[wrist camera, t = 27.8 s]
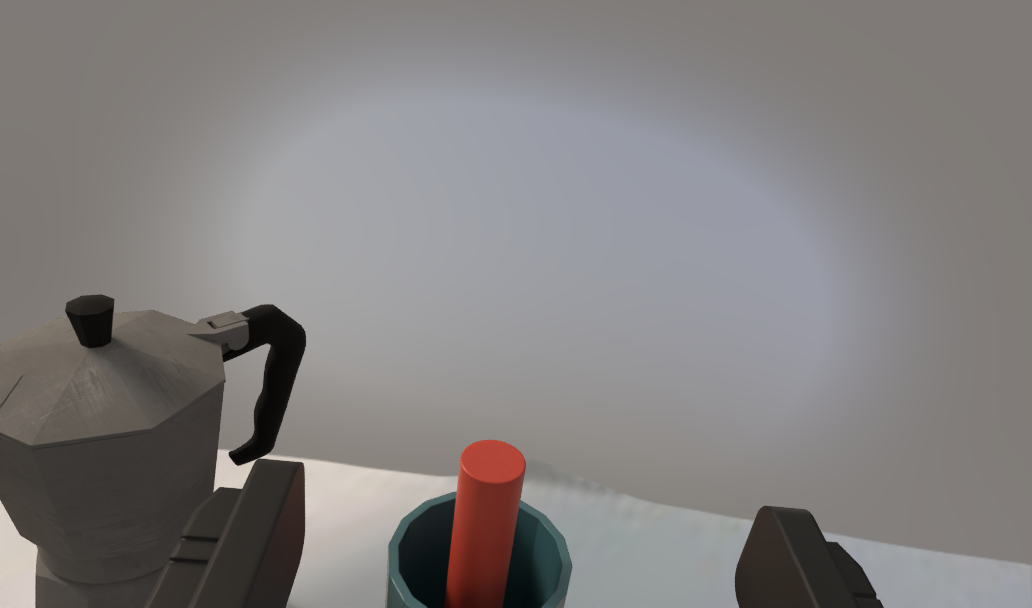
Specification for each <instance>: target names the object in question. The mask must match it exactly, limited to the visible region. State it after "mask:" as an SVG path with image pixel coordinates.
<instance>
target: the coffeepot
mask: <svg viewBox="0 0 1032 608" xmlns="http://www.w3.org/2000/svg"><path fill="white" fill-rule="evenodd" d="M113 309H114V299H113V298H110V297H107V296H104V295H87V296H80V297H79V298H76V299H74V300H71V301H69V302H67V304H66V309H65V311H66V314H67V316H68V317H62V318H57V319H55V320H53V321H51V322H48V323H46V324H44V325H42V326H39V327H37V328H35V329H33V330H31V331H29V332H26V333H24V334H22V335H20V336H18V337H16V338H13V339H11V340H9V341H6V342H4V343H2V344H0V500H1V502H2V504H3V505H4V507H5V509H6V511H7V513H8V514H9V516H10V518H11V520H12V522H13V523H14V525H15V527H16V529H17V530H18V532H19V534H20V535H21V536H22V537H24V538H26V539H27V540H29V541H31V542H32V543H34V544H36V545H37V548H38V554H37V563H36V608H143V606H144V604H145V602H146V601H147V599H148V597H149V595H150V593H151V591H152V589H153V587H154V585H155V583H156V582H157V580H158V578H159V576H160V574H161V572H162V570H163V568H164V566H165V565H166V563H168V562H169V557H170V555H171V553H172V551H173V549H174V547H175V546H176V544H177V542H178V541H180V539H181V534H182V532H183V530H184V528H185V527H186V525H187V523H188V521H189V519H190V517H191V515H192V513H193V511H194V510H195V508H196V507H198V506H199V505H200V504H201V503H202V502H203V501H204V500H206V499H207V498H208V497H209V496H210V495H211V494H212V493H213V490H214V480H215V470H216V460H217V450H218V440H219V431H220V420H221V410H222V401H223V391H224V383H225V381H226V380H225V373H224V365H223V362H226V361H228V360H230V359H233V358H235V357H237V356H240V355H242V354H244V353H246V352H248V351H251V350H253V349H254V348H257V347H259V346H261V345H264V344H266V343H268V344H270V345H271V347H270V350H269V353H268V356H267V360H266V364H265V371H264V380H263V381H264V382H263V389H262V392H261V394H260V396H259V398H258V400H257V402H256V406H255V409H254V425H255V426H254V428H255V430H254V434H253V436H252V438H251V439H250V440H249V441H248V442H247V443H245V444H244V445H242V446H241V447H239V448H237V449H236V450H234V451H230V452H229V457H230V458H231V459H232V461H233V462H234V463H235V464H236V465H237V466H239V465H242V464H245V463H248V462H251V461H253V460H256V459H258V458H260V457H263V456H265V455H266V454H268V453H270V452H271V450H272V449H273V447H274V445H275V441H276V438H277V434H278V432H279V428H280V426H281V423H282V420H283V416H284V413H285V410H286V408H287V404H288V400H289V397H290V394H291V390H292V387H293V384H294V380H295V377H296V374H297V371H298V368H299V365H300V363H301V359H302V357H303V354H304V351H305V346H306V334H305V331H304V329H303V328H302V326H301V325H300V324H298V323H297V322H296V321H294V320H293V319H292V318H290V317H289V316H288V315H286V314H285V313H284V312H282V311H281V310H280V309H278V308H277V307H276V306H274V305H269V304H268V305H260V306H257V307H254V308H251V309H249V310H246V311H244V312H240V313H235V312H233V311H229V312H226V313H222V314H219V315H215V316H212V317H208V318H204V319H201V320H199V321H198V322H197V323H196V324H192V323H190V322H187V321H184V320H181V319H178V318H175V317H172V316H169V315H166V314H163V313H160V312H157V311H155V310H147V311H135V312H123V313H113V311H114V310H113Z"/></svg>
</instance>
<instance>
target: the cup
mask: <svg viewBox="0 0 1032 608" xmlns="http://www.w3.org/2000/svg"><path fill="white" fill-rule="evenodd" d="M456 494H457V492H452V493H449V494H446V495H443V496H440V497H437V498H434V499H431V500H427V501H426V502H424V503H422V504H421V505H420V506H419V507H417V508H416V509H415V510H413V511H412V512H411V513H409V514H408V515H407V516H406V517H404V518H403V519H402V520H401V522H400V524H399V526H398V528H397V529H396V531H395V533H394V535H393V537H392V539H391V541H390V543H389V546H388V561H387V580H386V598H385V608H444V603H445V594H446V585H447V576H448V567H449V558H450V549H451V540H452V531H453V521H454V512H455V503H456ZM571 571H572V563H571V559H570V556H569V552H568V549H567V545H566V542H565V539H564V537H563V536H562V535H561V533H560V532H559V531H558V530H557V529H556V527H555V526H554V525H553V524H552V523H551V521H550V520H549V519H548V518H547V517H546V516H545V515H544V514H543V513H541V512H539V511H538V510H536V509H534V508H533V507H531V506H529V505H528V504H526V503H524V502H523V501H521V500H520V504H519V510H518V516H517V523H516V529H515V535H514V541H513V547H512V553H511V559H510V565H509V571H508V577H507V583H506V589H505V595H504V601H503V607H502V608H564V604H565V599H566V595H567V590H568V585H569V580H570V576H571Z"/></svg>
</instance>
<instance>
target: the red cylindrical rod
mask: <svg viewBox="0 0 1032 608" xmlns="http://www.w3.org/2000/svg"><path fill="white" fill-rule="evenodd" d="M525 468H526V462H525V459H524V457H523V455H522V454H521V452H520V451H519V450H517V449H516V448H515V447H513V446H512V445H510V444H507V443H505V442H502V441H497V440H483V441H478V442H475V443H473V444H471V445H469V446H468V447H467V448H466V449H465V450H464V451H463V453H462V455H461V459H460V467H459V476H458V485H457V494H456V503H455V512H454V521H453V531H452V540H451V549H450V558H449V567H448V576H447V585H446V594H445V603H444V608H502V607H503V601H504V595H505V589H506V583H507V577H508V571H509V565H510V559H511V553H512V547H513V541H514V535H515V529H516V523H517V516H518V510H519V504H520V498H521V492H522V486H523V480H524V474H525Z"/></svg>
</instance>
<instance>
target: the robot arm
mask: <svg viewBox="0 0 1032 608" xmlns="http://www.w3.org/2000/svg"><path fill="white" fill-rule="evenodd" d="M304 536H305V472H304V465H303V463H302V462H291V461H280V460H269V459H257V460H256V462H255V463H254V465H253V467H252V469H251V471H250V473H249V476H248V478H247V480H246V482H245V484H244V486H243V489H236V488H224V487H219V488H218V489H217V490H216V491H215V492H214V493H212V494H211V495H210V496H209V497H208V498H207V499H206V500H204V501H203V502H202V503H201V504H200V505H199V506H198V507H196V508H195V510H194V511H193V513H192V515H191V517H190V519H189V521H188V523H187V525H186V527H185V528H184V530H183V532H182V534H181V539H180V541H178V542H177V544H176V546H175V547H174V549H173V551H172V553H171V555H170V557H169V562H168V563H166V565H165V566H164V568H163V570H162V572H161V574H160V576H159V578H158V580H157V582H156V583H155V585H154V587H153V589H152V591H151V593H150V595H149V597H148V599H147V601H146V602H145V604H144V606H143V608H286V604H287V601H288V598H289V595H290V592H291V589H292V586H293V583H294V579H295V576H296V573H297V570H298V567H299V563H300V560H301V555H302V550H303V544H304ZM735 591H736V597H737V601H738V605H739V608H884V607H883V605H882V603H881V601H880V600H878V599H877V598H876V592H875V591H874V589H873V587H872V585H871V583H870V582H869V580H868V578H867V576H866V574H865V572H864V571H863V569H862V567H861V566H860V565H859V564H858V563H857V562H856V561H855V560H854V559H853V558H852V557H851V556H850V555H849V554H848V553H847V552H846V551H845V550H844V549H843V548H842V547H841V546H840V545H839V544H838V543H837V542H826V540H825V538H824V536H823V534H822V532H821V530H820V529H819V527H818V525H817V523H816V521H815V519H814V517H813V515H812V514H811V513H810V512H809V511H808V510H805V509H795V508H784V507H773V506H763V507H762V508H761V509H760V510H759V511H758V513H757V516H756V518H755V521H754V523H753V526H752V528H751V531H750V533H749V536H748V539H747V541H746V544H745V546H744V549H743V551H742V554H741V557H740V559H739V562H738V564H737V568H736V574H735Z"/></svg>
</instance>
